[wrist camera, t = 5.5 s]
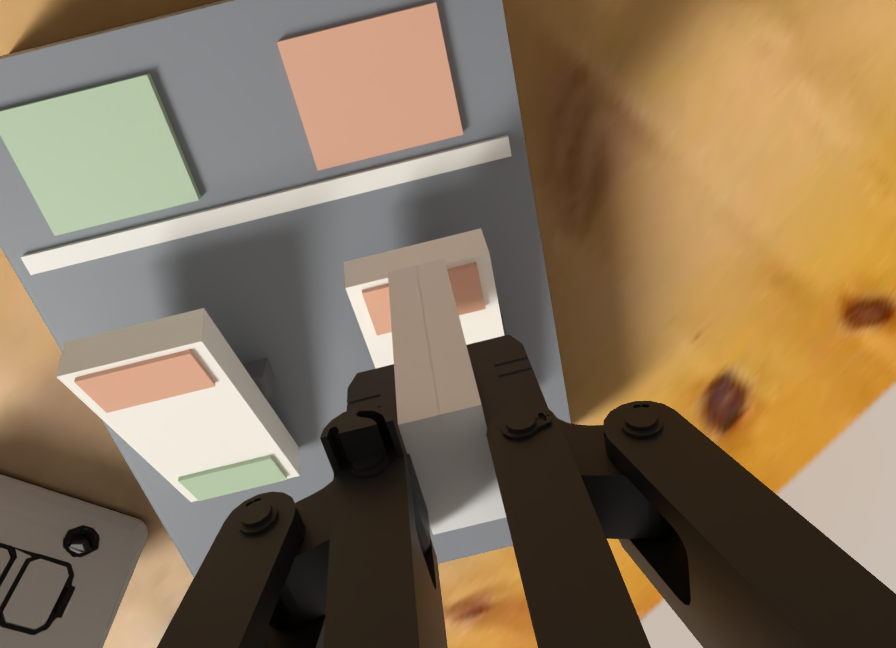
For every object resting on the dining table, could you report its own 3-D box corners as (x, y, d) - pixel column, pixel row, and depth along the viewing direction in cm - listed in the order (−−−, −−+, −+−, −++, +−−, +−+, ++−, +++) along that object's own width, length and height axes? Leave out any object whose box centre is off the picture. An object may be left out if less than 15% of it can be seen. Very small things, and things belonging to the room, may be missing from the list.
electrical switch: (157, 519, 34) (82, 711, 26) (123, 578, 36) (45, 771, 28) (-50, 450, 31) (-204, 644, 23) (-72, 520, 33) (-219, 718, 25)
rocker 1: (64, 342, 19) (55, 381, 18) (203, 308, 19) (201, 345, 18) (192, 472, 25) (190, 506, 24) (298, 446, 25) (299, 479, 24)
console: (7, 54, 23) (-124, 91, 17) (463, -61, 23) (499, -66, 17) (239, 514, 34) (211, 641, 28) (553, 438, 34) (596, 549, 28)
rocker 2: (343, 262, 19) (345, 291, 18) (480, 228, 19) (490, 256, 18) (406, 435, 25) (411, 465, 24) (514, 409, 25) (523, 438, 24)
